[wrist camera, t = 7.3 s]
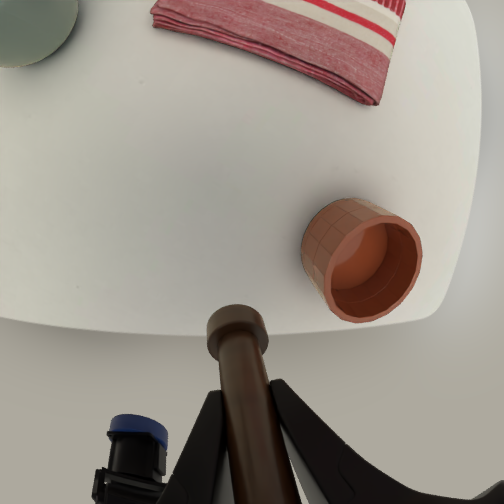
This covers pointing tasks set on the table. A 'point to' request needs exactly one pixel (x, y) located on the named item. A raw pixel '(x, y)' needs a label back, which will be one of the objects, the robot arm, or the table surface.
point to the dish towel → (300, 35)
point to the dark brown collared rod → (250, 409)
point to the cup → (33, 29)
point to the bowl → (361, 259)
